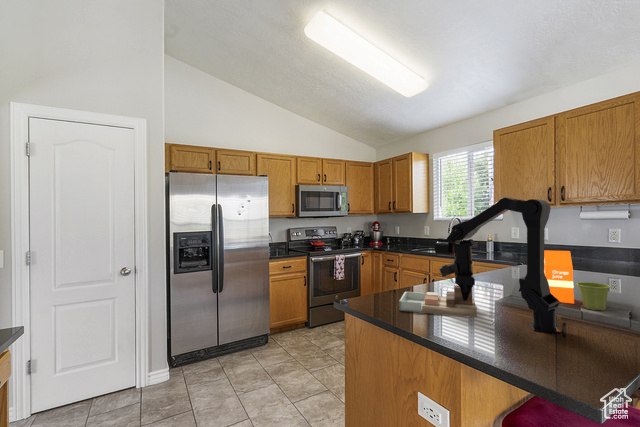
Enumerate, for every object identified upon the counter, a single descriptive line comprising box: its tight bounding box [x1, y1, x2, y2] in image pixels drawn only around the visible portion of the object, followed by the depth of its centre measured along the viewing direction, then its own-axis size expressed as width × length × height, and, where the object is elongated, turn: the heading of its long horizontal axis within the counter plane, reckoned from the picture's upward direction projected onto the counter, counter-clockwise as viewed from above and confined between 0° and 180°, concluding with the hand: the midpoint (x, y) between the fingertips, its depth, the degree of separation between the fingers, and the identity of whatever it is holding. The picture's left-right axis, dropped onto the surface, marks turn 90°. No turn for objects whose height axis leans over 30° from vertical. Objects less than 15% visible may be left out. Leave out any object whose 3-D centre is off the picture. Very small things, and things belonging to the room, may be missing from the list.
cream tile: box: [425, 291, 440, 300], centre depth 121 cm, size 4×4×2 cm
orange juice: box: [544, 249, 575, 304], centre depth 124 cm, size 8×9×20 cm
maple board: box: [421, 295, 478, 318], centre depth 116 cm, size 16×18×2 cm
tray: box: [398, 291, 426, 313], centre depth 121 cm, size 16×8×4 cm, turn 157°
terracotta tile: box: [425, 295, 438, 305], centre depth 115 cm, size 4×4×2 cm
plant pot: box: [576, 282, 612, 311], centre depth 112 cm, size 9×9×9 cm
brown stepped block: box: [445, 285, 473, 307], centre depth 114 cm, size 13×9×6 cm
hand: (464, 299), depth 114 cm, fingers closed on brown stepped block, 4 cm apart
